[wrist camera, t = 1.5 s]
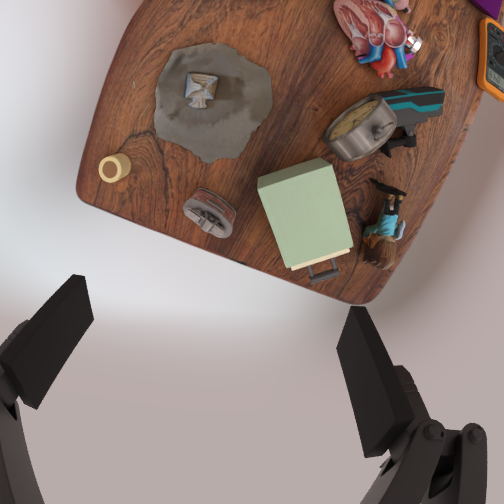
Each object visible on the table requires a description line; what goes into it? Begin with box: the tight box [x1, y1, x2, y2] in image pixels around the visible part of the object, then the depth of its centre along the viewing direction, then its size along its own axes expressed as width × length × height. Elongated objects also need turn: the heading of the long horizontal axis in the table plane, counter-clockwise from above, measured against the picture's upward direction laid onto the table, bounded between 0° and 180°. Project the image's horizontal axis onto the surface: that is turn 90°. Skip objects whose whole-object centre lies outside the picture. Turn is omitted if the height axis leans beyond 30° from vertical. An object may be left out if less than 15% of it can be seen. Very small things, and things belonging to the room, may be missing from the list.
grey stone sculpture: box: [133, 42, 273, 164], centre depth 40 cm, size 19×22×2 cm
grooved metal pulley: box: [404, 28, 423, 55], centre depth 33 cm, size 5×3×5 cm, turn 154°
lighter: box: [183, 188, 236, 238], centre depth 44 cm, size 8×3×10 cm, turn 53°
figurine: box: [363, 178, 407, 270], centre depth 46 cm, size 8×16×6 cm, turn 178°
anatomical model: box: [333, 0, 414, 78], centre depth 32 cm, size 11×6×15 cm
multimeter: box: [477, 18, 504, 102], centre depth 31 cm, size 9×18×3 cm, turn 170°
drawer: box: [291, 248, 350, 284], centre depth 46 cm, size 16×9×7 cm, turn 20°
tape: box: [99, 153, 131, 183], centre depth 44 cm, size 4×4×4 cm
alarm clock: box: [323, 94, 397, 162], centre depth 35 cm, size 11×5×16 cm, turn 136°
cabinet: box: [257, 157, 353, 268], centre depth 44 cm, size 13×11×9 cm
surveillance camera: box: [369, 87, 445, 158], centre depth 38 cm, size 6×12×10 cm
